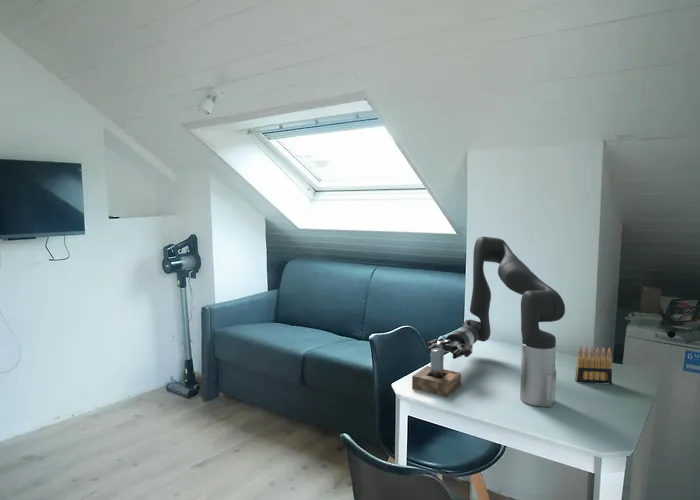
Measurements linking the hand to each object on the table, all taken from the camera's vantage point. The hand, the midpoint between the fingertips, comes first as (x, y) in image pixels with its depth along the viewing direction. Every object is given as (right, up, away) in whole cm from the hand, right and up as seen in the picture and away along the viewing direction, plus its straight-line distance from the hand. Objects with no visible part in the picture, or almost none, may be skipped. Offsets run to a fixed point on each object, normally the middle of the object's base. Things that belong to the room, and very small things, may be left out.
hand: (441, 353), depth 151 cm
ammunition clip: (+50, -10, +1) cm, 51 cm away
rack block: (-2, -10, -2) cm, 11 cm away
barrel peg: (-2, -10, -2) cm, 11 cm away
